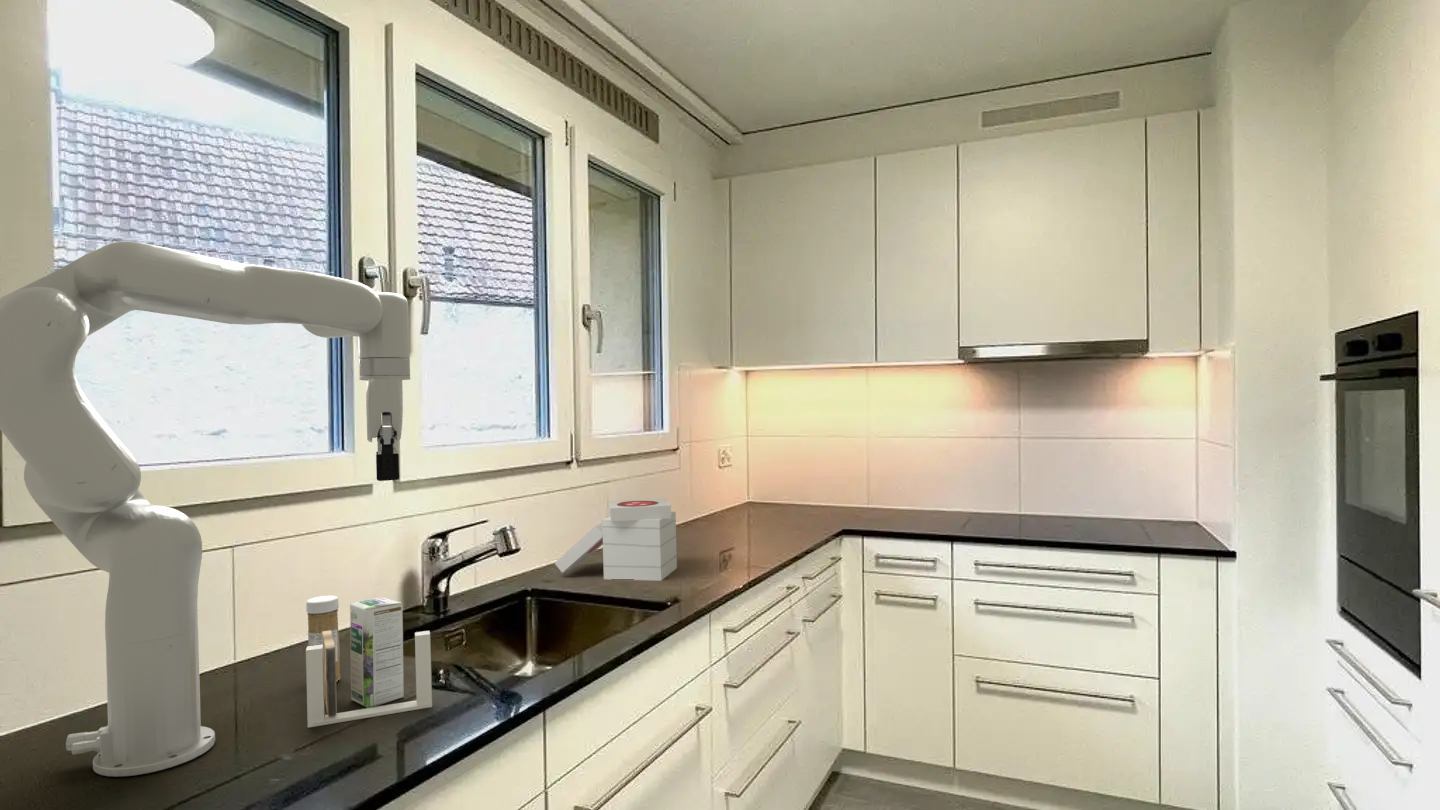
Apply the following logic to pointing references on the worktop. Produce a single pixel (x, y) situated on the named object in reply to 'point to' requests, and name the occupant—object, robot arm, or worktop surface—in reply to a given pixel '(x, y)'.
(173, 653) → the robot arm
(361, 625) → the syrup box
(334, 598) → the sprinkles bottle
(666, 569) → the stacked pizza boxes
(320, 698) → the door frame
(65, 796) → the worktop surface
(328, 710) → the door
